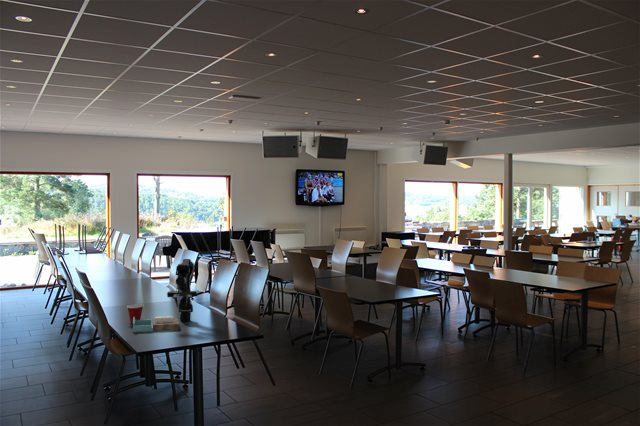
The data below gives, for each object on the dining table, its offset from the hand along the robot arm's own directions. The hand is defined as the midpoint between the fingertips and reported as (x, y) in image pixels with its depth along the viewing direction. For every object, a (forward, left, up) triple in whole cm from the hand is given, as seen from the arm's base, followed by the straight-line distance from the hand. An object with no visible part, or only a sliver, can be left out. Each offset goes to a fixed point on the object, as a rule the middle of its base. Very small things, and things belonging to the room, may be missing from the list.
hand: (181, 307), depth 347 cm
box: (+24, 0, -13) cm, 27 cm away
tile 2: (+9, 0, -9) cm, 12 cm away
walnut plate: (+10, 0, -13) cm, 16 cm away
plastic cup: (+29, -18, -13) cm, 37 cm away
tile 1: (+14, 0, -9) cm, 17 cm away
